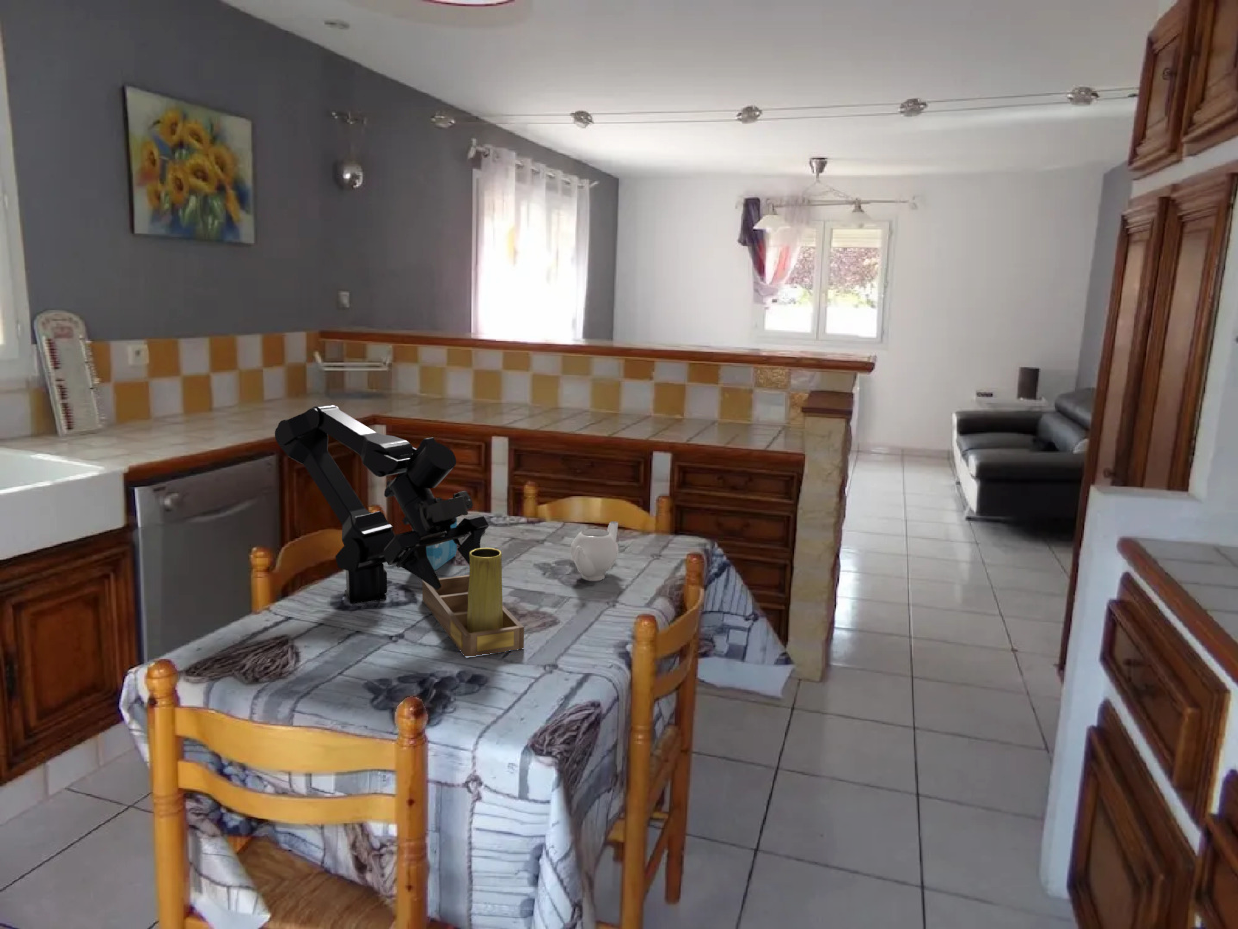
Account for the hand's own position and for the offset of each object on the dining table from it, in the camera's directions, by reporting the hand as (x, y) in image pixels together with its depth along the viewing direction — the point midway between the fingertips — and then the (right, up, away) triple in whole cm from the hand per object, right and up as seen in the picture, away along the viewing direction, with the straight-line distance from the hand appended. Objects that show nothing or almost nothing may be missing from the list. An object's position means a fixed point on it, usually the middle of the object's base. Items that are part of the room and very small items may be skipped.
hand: (461, 581), depth 143 cm
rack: (0, -8, +6) cm, 10 cm away
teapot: (+21, -4, +32) cm, 38 cm away
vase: (+4, -9, -2) cm, 10 cm away
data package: (-12, -1, +37) cm, 39 cm away
